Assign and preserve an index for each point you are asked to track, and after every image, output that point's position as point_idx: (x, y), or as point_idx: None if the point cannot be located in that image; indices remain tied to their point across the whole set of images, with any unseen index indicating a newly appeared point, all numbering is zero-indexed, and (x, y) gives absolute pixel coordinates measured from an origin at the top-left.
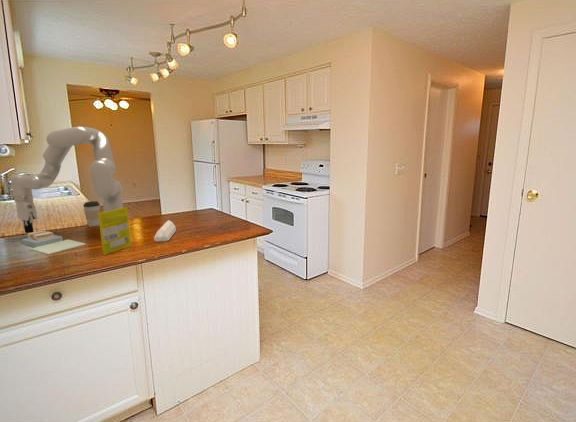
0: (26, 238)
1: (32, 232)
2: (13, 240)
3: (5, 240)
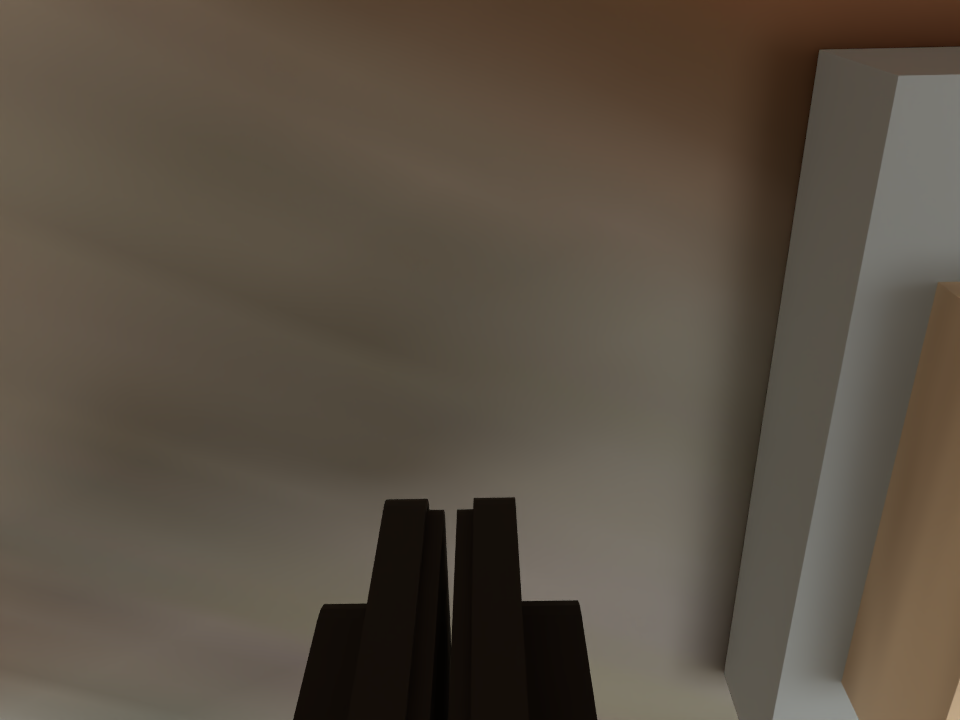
0: (826, 711)
1: (955, 715)
2: (168, 646)
3: (10, 716)
